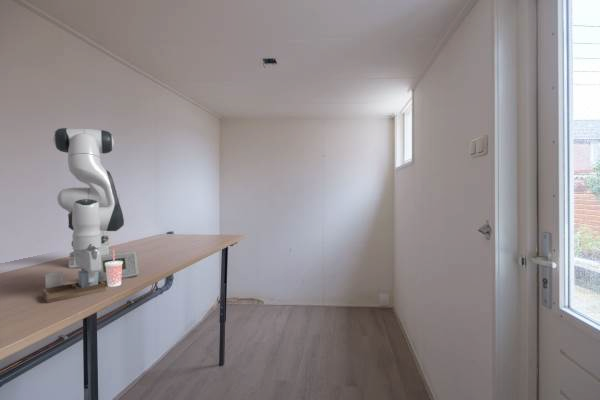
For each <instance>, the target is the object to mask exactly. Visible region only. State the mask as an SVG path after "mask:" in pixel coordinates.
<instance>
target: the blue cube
mask: <svg viewBox="0 0 600 400" xmlns="http://www.w3.org/2000/svg"><path fill="white" fill-rule="evenodd" d="M77 272H78V273H77V274H78V276H77V277H78V282H77V283H79V286H81V287H87V286H92V285H97V284H98V272H95V276H94V282H88V281H87V277H88V271H86V270H85V271H77Z"/></svg>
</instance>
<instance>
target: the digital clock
mask: <svg viewBox="0 0 600 400" xmlns="http://www.w3.org/2000/svg"><path fill="white" fill-rule="evenodd" d="M114 256H115V261H123V264H122V277H121V280H126V279H130V278H134V277H137V276H139V266H138V265H139V264H138V257H137V252H136V251H127V252H126V251H124V252H118V253H116V252H114ZM111 261H113V253H109V254H107V255H101V266H102V268H101V271H99V272H98V279H99V280H101V281H103V282H104V283H107V274H106V266H105V263H106V262H111Z"/></svg>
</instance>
